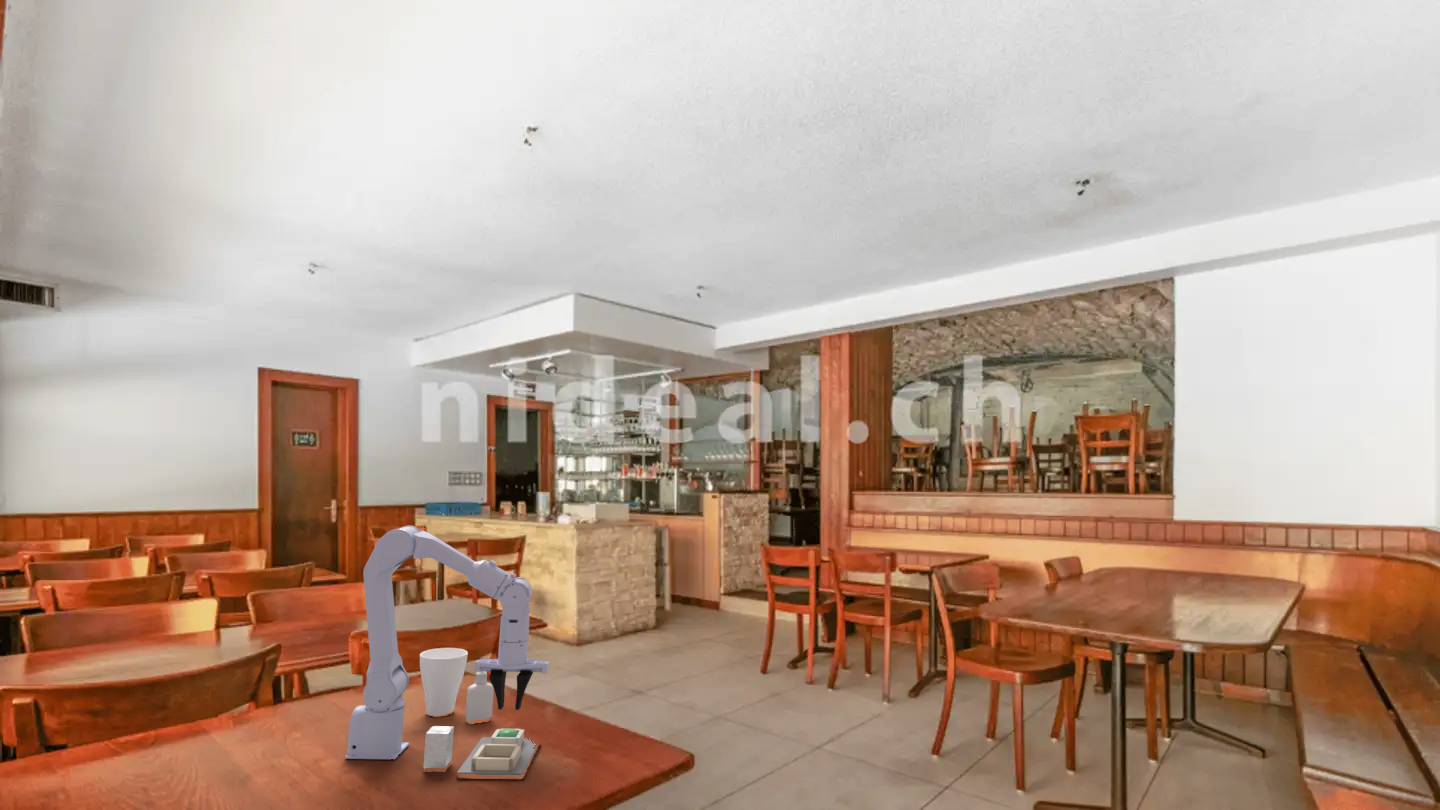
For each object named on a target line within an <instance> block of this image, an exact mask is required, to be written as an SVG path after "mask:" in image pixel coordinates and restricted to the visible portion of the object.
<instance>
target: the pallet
mask: <svg viewBox="0 0 1440 810" xmlns="http://www.w3.org/2000/svg"><path fill="white" fill-rule="evenodd" d="M503 729H504V728H497V729H496V730H495V731H494V733H493V734H492V735H491V736H489V737H488V736H482V737H481V738H480V739H479V741H478V742H477V744H476V746H475V747H474V748H473V749H472V751H471V752H470V754H469V755H468V756H467V757H466V759H465V761H464V762H462V765H461V766H460V768H459V769H458V770H457V772H456V775H457V774H475V775H476V774H477V775H521V774H524V772H525V770H526V768H527V766H528V764H529V761H530V759H531V757H532V755H533V753H534V751H535V749H536V748H535V749H533V747H535V746H534V745H536V744H535V743H534V744H533V743H532V742H531V740H530V738H531V737H525V729H521V728H514V729H515V730H516V737H500V731H501V730H503ZM524 738H525V739H524ZM527 738H529V740H530V741H529V740H528V739H527ZM526 739H527V740H526ZM533 742H534V741H533ZM536 747H537V746H536Z"/></svg>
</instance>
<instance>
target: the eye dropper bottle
mask: <svg viewBox="0 0 1440 810" xmlns="http://www.w3.org/2000/svg"><path fill="white" fill-rule="evenodd" d="M487 680H488V671H480V672H475V680H474V681H475V682H474V683H473V684H471V685H469V686H468V687H467V690H466V704H465V717H464V719H466V720H467V721H474V720H475V721H476V720H483V719H487V718H490V717H492V718H493V706H494V705H493V704H494V693H495V691H494V688H493V685H492V683H491V682H487Z"/></svg>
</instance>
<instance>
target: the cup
mask: <svg viewBox="0 0 1440 810" xmlns="http://www.w3.org/2000/svg"><path fill="white" fill-rule="evenodd" d="M468 655H469V653H468V650H465V649H463V648H458V647H457V648H456V647H440V648H431V649H427V650H424V651H421V652H420V654H419V670H420V678H421V684H422V687H423V694H424V699H425V701H424V702H425V714H426V713H427V714H430V715H442V714H446V713H450V712H452V711H453V710H454V711H455V708H456V701H457V696H458V693H459V690H460V687H461V684H462V682H463V679H464V674H465V670H466V666H467V664H468V663H467V662H468V657H469V656H468Z"/></svg>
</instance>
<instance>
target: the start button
mask: <svg viewBox="0 0 1440 810" xmlns="http://www.w3.org/2000/svg"><path fill="white" fill-rule="evenodd" d="M502 729H503V730H501V731H500V737H516V730H515V729H516V728H509V727H508V728H502Z"/></svg>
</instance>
